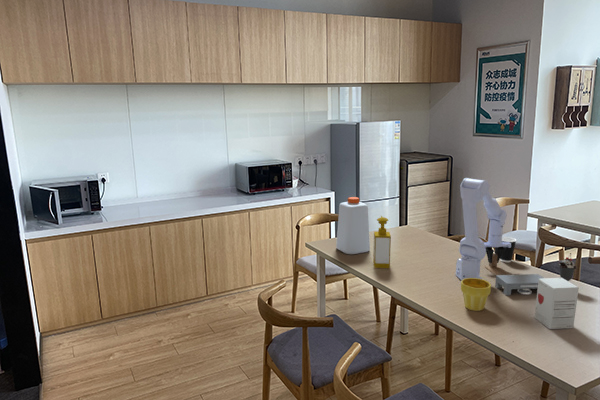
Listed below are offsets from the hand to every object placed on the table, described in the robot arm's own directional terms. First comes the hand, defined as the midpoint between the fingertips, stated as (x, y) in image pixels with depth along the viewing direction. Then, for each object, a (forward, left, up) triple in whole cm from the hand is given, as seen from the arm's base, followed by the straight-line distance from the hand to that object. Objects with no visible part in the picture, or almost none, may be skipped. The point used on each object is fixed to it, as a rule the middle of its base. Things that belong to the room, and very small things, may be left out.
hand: (493, 262), depth 208 cm
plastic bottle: (-60, +33, -3) cm, 68 cm away
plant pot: (-26, -39, -3) cm, 47 cm away
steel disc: (0, -27, -3) cm, 28 cm away
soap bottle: (-50, +11, -3) cm, 51 cm away
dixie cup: (+11, +10, -3) cm, 15 cm away
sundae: (+18, -25, -3) cm, 31 cm away
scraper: (0, -9, -3) cm, 10 cm away
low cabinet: (0, -25, -3) cm, 26 cm away
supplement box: (-4, -53, -3) cm, 54 cm away
